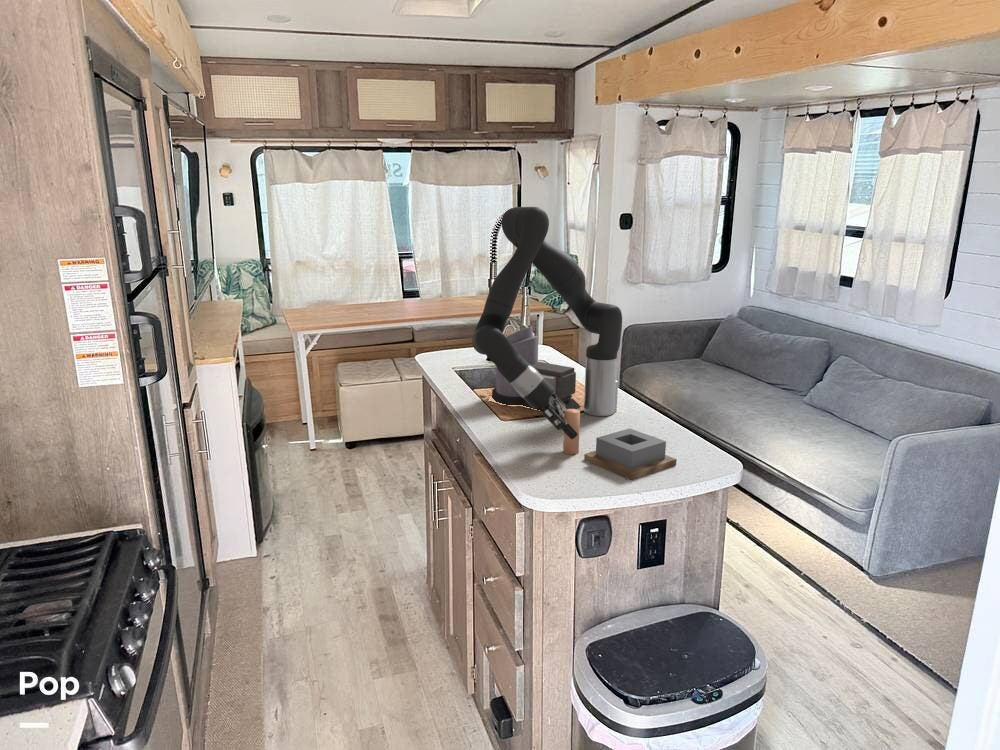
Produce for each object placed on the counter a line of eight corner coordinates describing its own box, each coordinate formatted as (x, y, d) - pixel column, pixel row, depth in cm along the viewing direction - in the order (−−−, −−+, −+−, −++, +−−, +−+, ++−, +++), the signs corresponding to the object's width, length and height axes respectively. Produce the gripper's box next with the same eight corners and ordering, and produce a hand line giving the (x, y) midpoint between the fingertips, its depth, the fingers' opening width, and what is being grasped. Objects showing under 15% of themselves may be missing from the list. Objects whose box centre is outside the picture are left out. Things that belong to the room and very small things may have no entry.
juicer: (478, 400, 229) (478, 325, 223) (507, 389, 242) (508, 318, 235) (558, 418, 212) (560, 337, 206) (585, 405, 224) (588, 329, 218)
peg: (571, 448, 188) (572, 408, 185) (581, 452, 185) (583, 411, 182) (559, 451, 185) (561, 410, 183) (570, 455, 182) (571, 414, 179)
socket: (628, 444, 186) (629, 428, 185) (664, 458, 177) (666, 441, 176) (595, 454, 179) (596, 437, 178) (631, 469, 170) (632, 451, 169)
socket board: (628, 446, 189) (628, 441, 189) (676, 464, 177) (676, 459, 176) (584, 459, 180) (584, 453, 179) (631, 479, 167) (631, 473, 167)
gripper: (540, 384, 174) (586, 431, 175) (545, 369, 188) (587, 413, 189) (518, 404, 176) (563, 450, 177) (524, 388, 190) (566, 431, 191)
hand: (575, 431), depth 183 cm, fingers open, 8 cm apart
